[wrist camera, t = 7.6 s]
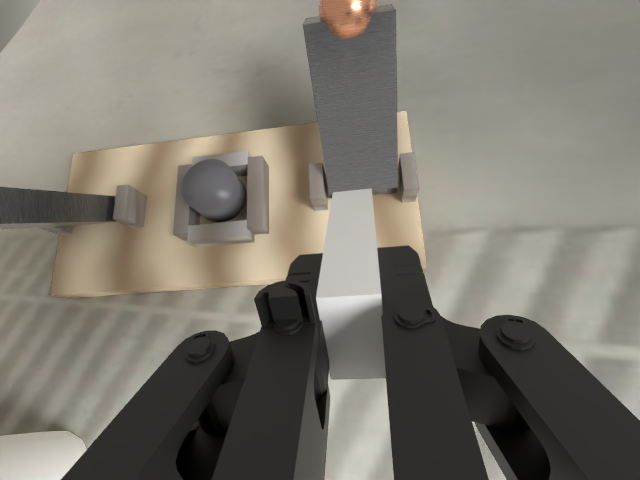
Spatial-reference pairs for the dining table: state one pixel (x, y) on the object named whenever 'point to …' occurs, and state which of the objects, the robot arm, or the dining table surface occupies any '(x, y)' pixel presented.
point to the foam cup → (39, 455)
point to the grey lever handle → (52, 208)
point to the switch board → (207, 236)
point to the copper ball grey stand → (355, 93)
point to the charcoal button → (213, 190)
